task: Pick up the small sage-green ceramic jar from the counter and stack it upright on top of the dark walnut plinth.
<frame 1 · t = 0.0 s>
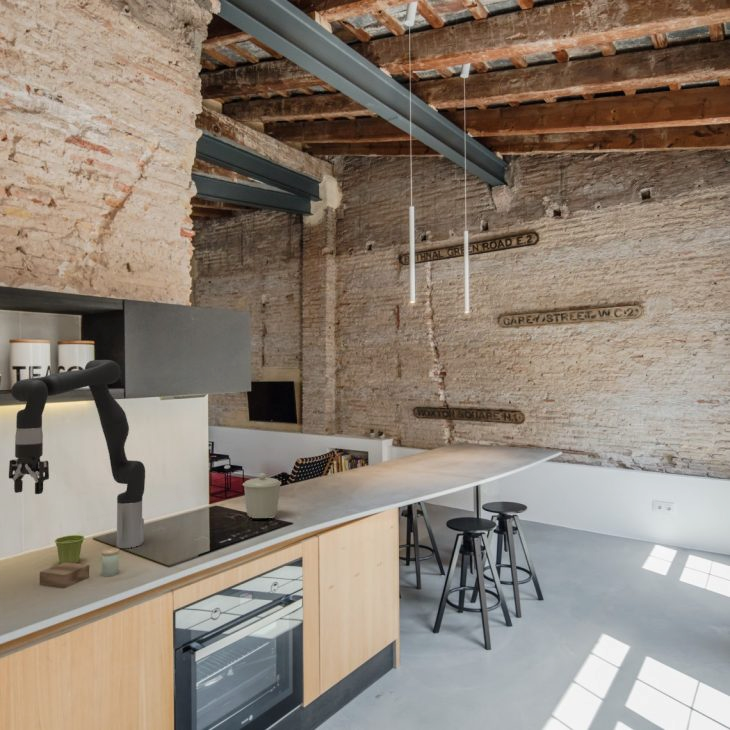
hand: (28, 493, 175), 29 cm above the worktop, fingers open, 8 cm apart
plinth: (64, 580, 178), on the worktop
canister: (262, 518, 259), on the worktop
plant pot: (69, 563, 196), on the worktop
jar: (110, 573, 185), on the worktop
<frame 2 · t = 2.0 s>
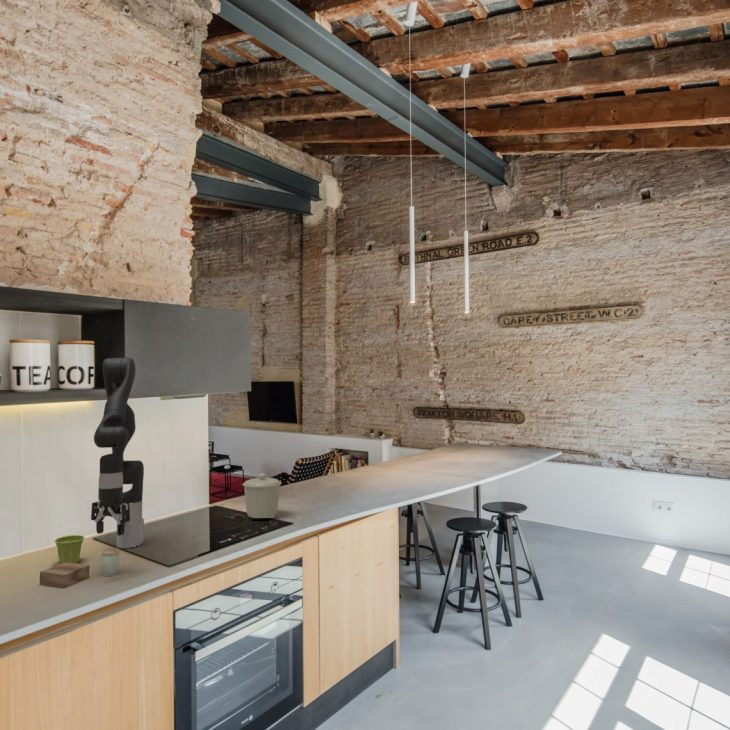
hand: (110, 534, 185), 13 cm above the worktop, fingers open, 8 cm apart
nothing on the worktop moved.
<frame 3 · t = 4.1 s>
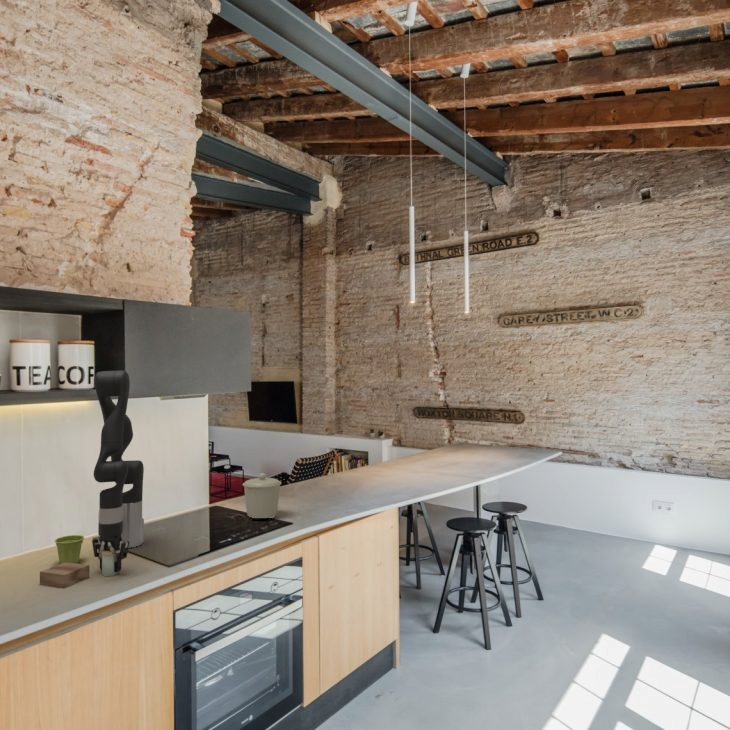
hand: (110, 570, 185), 1 cm above the worktop, fingers closed on jar, 5 cm apart
jar: (110, 573, 185), on the worktop, touching gripper
everything else where it was.
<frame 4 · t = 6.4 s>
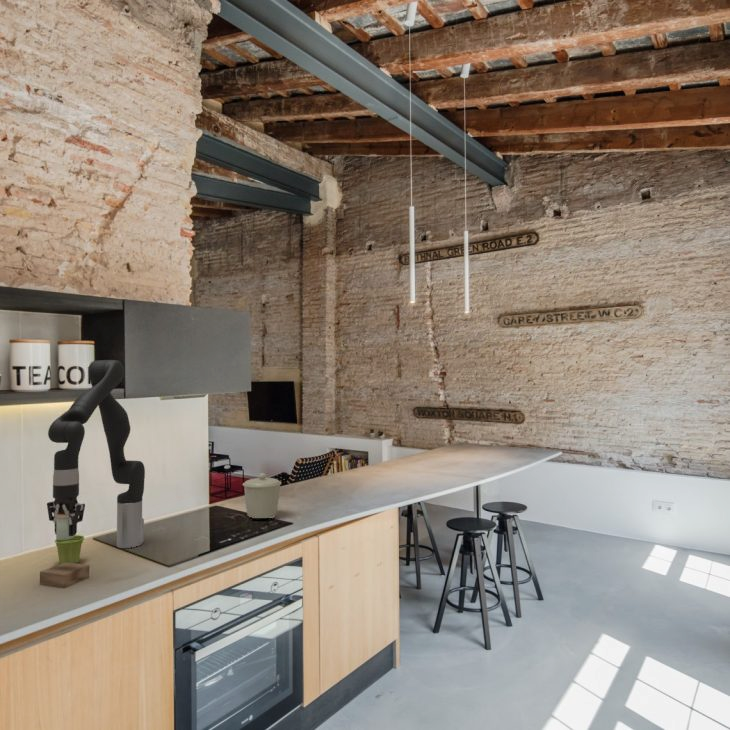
hand: (65, 534, 179), 15 cm above the worktop, fingers closed on jar, 5 cm apart
jar: (65, 537, 179), point 14 cm above the worktop, touching gripper
everything else where it was.
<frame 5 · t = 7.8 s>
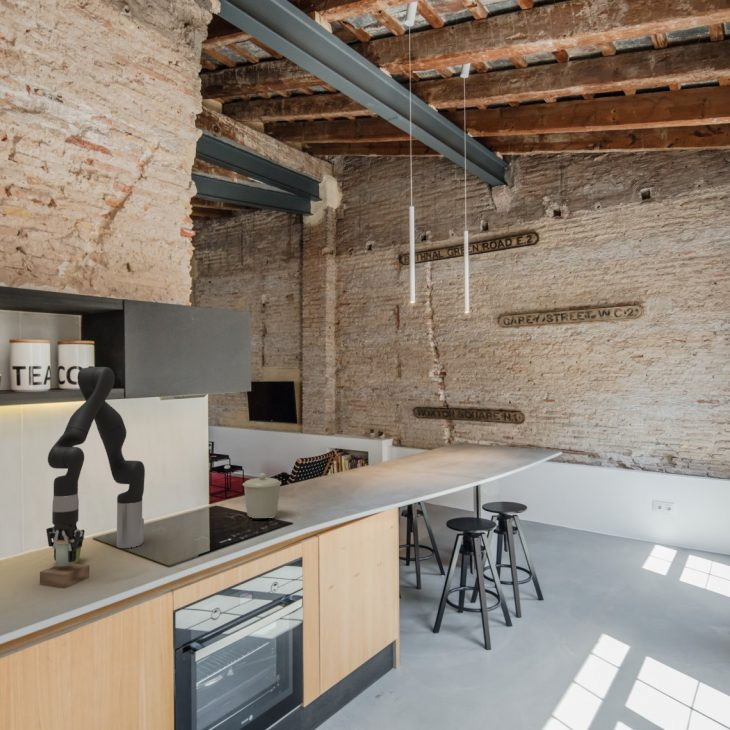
hand: (64, 560, 178), 7 cm above the worktop, fingers closed on jar, 5 cm apart
jar: (64, 563, 178), point 6 cm above the worktop, touching gripper
everything else where it was.
when the fingers open (6 cm above the worktop, at t = 8.8 s): jar drops 1 cm, resting on plinth.
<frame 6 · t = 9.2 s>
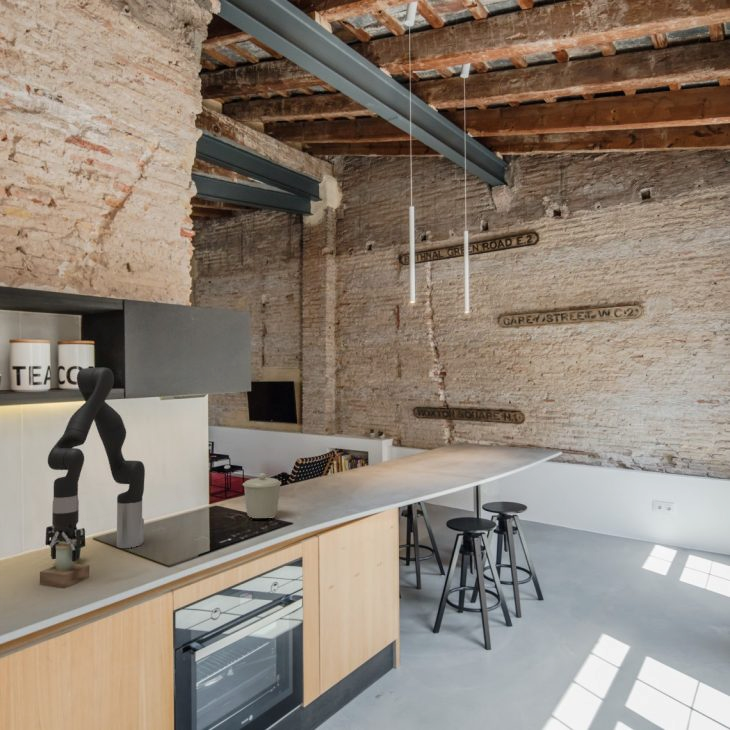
hand: (65, 559, 178), 7 cm above the worktop, fingers open, 8 cm apart
jar: (64, 568, 178), point 4 cm above the worktop, touching plinth
everything else where it was.
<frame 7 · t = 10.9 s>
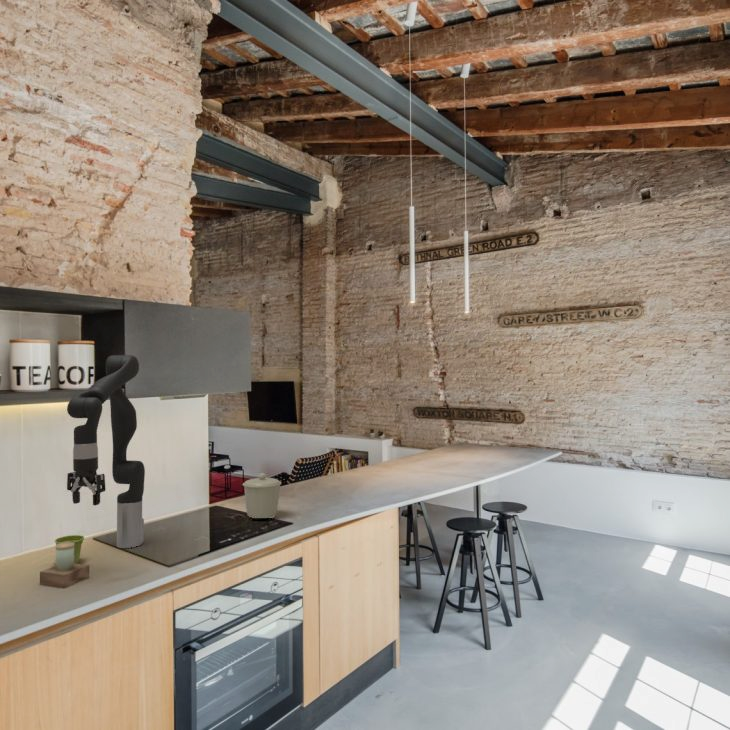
hand: (86, 504, 186), 23 cm above the worktop, fingers open, 8 cm apart
nothing on the worktop moved.
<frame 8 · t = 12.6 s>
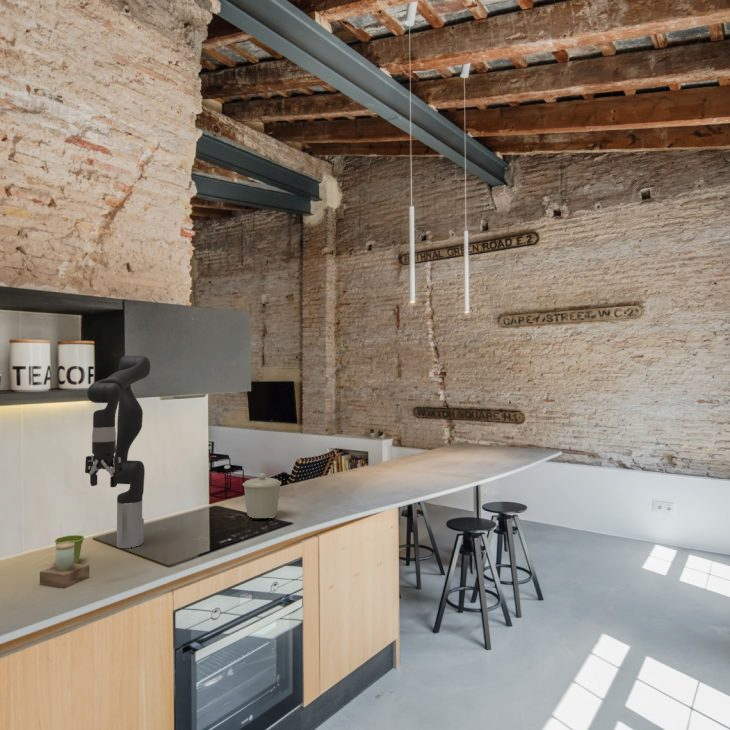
hand: (103, 486, 192), 28 cm above the worktop, fingers open, 8 cm apart
nothing on the worktop moved.
at the end: jar inside the target area on the plinth (0.0 cm from its centre), point 4.0 cm above the plinth's base; jar tilted 0°; the gripper is holding nothing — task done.
